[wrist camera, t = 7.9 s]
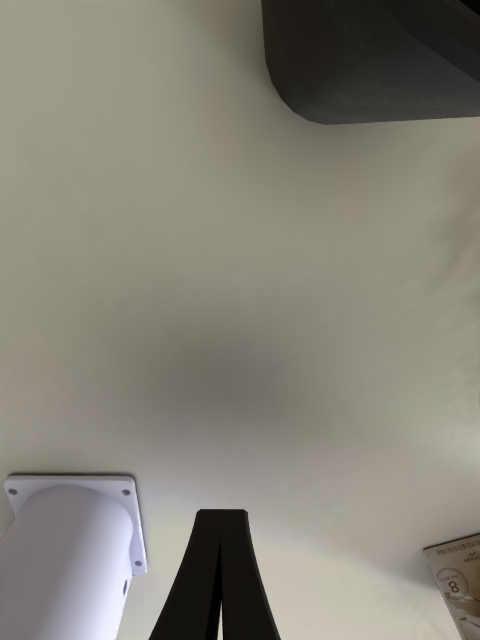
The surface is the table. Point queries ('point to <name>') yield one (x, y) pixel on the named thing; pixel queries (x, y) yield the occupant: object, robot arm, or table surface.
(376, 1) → the cup
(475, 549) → the coffee box
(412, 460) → the table surface
